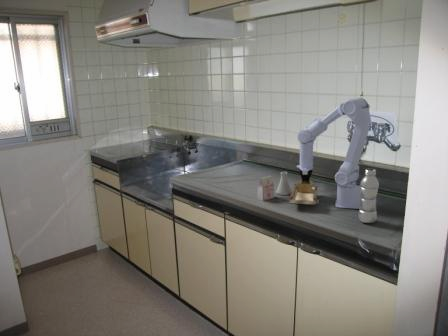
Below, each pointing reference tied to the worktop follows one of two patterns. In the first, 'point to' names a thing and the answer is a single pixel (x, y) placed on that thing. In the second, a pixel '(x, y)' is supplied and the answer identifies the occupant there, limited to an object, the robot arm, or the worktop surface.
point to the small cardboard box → (303, 196)
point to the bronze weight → (304, 186)
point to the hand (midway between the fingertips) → (305, 186)
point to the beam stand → (309, 204)
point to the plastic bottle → (368, 197)
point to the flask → (283, 185)
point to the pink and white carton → (265, 188)
